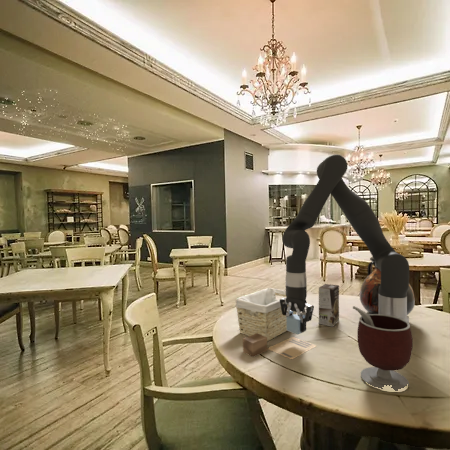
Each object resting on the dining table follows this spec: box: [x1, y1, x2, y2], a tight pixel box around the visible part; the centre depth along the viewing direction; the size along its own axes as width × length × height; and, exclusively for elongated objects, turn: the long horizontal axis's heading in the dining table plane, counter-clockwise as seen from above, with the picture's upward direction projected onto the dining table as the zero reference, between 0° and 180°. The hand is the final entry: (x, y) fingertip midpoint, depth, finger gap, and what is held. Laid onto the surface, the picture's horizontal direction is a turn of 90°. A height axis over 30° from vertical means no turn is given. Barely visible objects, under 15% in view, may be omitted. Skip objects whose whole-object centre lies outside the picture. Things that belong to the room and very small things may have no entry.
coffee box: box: [318, 283, 340, 327], centre depth 131 cm, size 9×6×16 cm
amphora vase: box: [359, 256, 416, 316], centre depth 132 cm, size 22×22×28 cm
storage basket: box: [235, 287, 297, 342], centre depth 125 cm, size 24×16×15 cm
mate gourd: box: [352, 305, 413, 391], centre depth 86 cm, size 16×14×20 cm
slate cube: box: [286, 313, 307, 335], centre depth 110 cm, size 5×5×5 cm
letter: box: [267, 336, 317, 360], centre depth 108 cm, size 11×15×1 cm
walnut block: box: [242, 333, 268, 358], centre depth 105 cm, size 5×7×5 cm
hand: (296, 329), depth 110 cm, fingers closed on slate cube, 5 cm apart
